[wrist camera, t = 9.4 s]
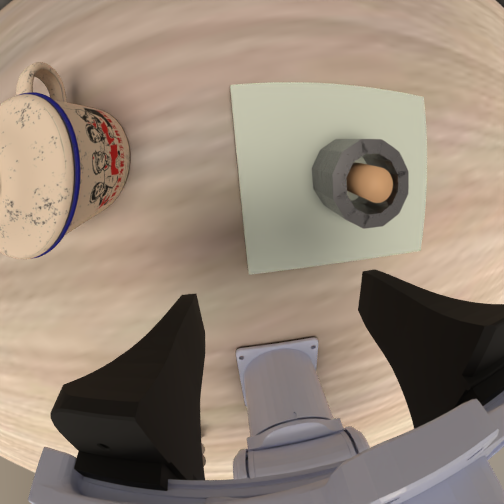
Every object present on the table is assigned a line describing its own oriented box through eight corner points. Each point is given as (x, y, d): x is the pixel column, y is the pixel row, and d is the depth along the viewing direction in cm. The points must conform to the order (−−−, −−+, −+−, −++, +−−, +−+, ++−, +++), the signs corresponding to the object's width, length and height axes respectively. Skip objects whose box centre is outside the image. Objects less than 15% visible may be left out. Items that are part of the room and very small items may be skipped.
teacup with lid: (144, 206, 19) (67, 274, 9) (53, 226, 19) (-36, 290, 8) (125, 58, 15) (42, -2, 4) (34, 96, 14) (-64, 90, 4)
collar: (379, 208, 20) (407, 223, 16) (314, 216, 20) (334, 232, 16) (377, 139, 18) (407, 140, 14) (309, 140, 18) (329, 139, 14)
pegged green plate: (414, 246, 23) (450, 271, 18) (247, 269, 22) (255, 306, 17) (416, 97, 18) (459, 93, 13) (229, 87, 17) (231, 67, 12)
